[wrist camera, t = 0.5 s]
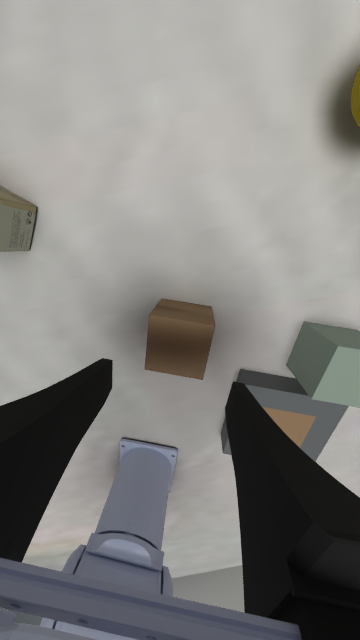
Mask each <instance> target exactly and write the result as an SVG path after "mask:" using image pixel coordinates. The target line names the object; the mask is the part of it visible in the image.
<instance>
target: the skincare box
mask: <svg viewBox="0 0 360 640" xmlns="http://www.w3.org/2000/svg"><path fill="white" fill-rule="evenodd" d="M35 214H36V206H34V205H33V204H31V203H29V202H27V201H25V200H24V199H22V198H20V197H18V196H17V195H15V194H13V193H11V192H10V191H8V190H6V189H4V188H2V187H1V186H0V252H1V251H28V250H29V248H30V243H31V238H32V232H33V227H34V221H35Z"/></svg>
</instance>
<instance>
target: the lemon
mask: <svg viewBox="0 0 360 640" xmlns="http://www.w3.org/2000/svg"><path fill="white" fill-rule="evenodd" d="M351 110H352V115H353V118H354V120H355V121H356V123H357V125H358V126H359V127H360V66H359V68H358V71H357V73H356V76H355V80H354V84H353V88H352V92H351Z"/></svg>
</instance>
